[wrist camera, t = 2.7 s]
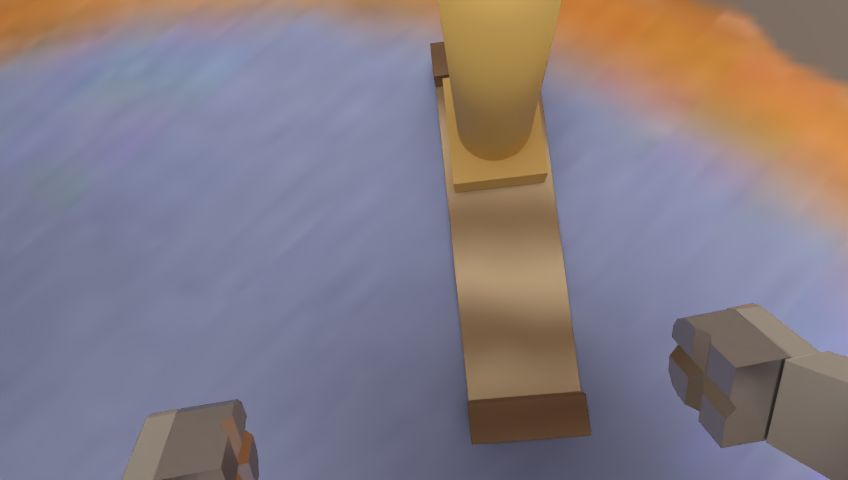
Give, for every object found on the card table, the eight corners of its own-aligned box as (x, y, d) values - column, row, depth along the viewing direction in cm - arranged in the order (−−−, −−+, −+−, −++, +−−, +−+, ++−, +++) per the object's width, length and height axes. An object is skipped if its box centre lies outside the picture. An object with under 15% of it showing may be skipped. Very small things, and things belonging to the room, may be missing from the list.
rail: (581, 424, 32) (591, 435, 29) (473, 433, 32) (471, 444, 29) (532, 53, 35) (536, 28, 32) (434, 66, 36) (430, 43, 33)
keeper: (544, 182, 32) (600, 47, 16) (455, 192, 33) (427, 71, 17) (531, 81, 33) (572, -139, 17) (445, 92, 33) (408, -111, 18)
